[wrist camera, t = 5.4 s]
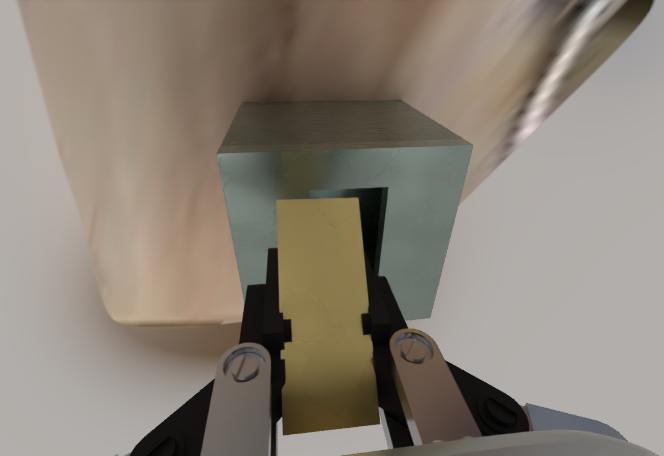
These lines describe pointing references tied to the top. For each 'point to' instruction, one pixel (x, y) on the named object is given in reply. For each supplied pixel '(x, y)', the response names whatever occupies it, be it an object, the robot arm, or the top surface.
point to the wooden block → (324, 317)
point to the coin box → (348, 184)
